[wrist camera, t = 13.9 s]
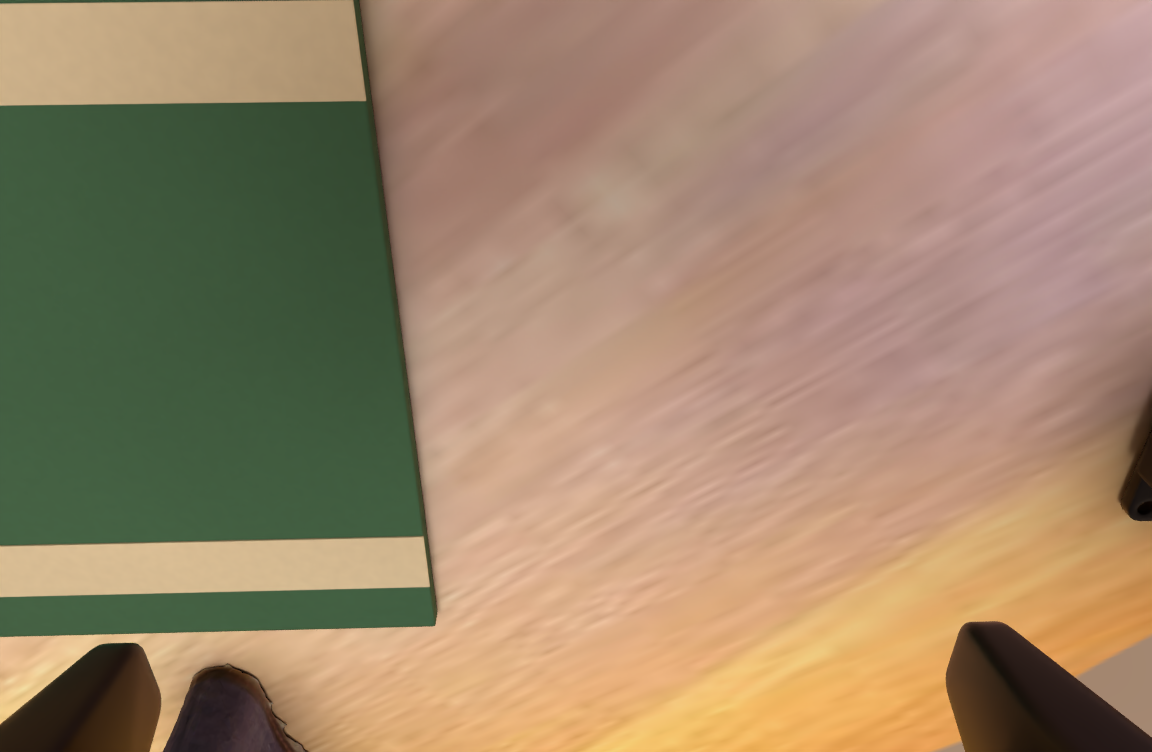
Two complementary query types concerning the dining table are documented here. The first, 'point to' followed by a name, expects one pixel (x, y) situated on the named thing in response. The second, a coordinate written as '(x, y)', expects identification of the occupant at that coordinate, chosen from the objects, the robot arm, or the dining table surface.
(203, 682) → the flask
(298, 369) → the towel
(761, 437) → the dining table surface
